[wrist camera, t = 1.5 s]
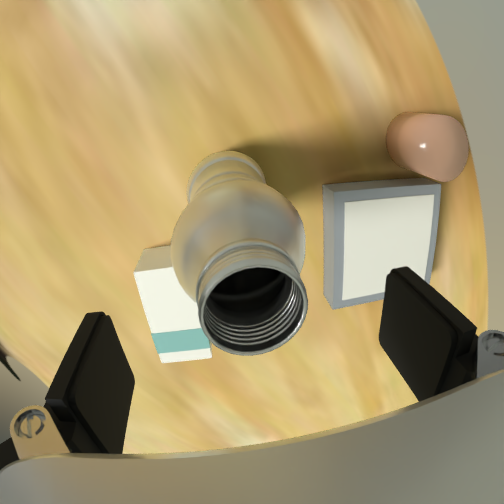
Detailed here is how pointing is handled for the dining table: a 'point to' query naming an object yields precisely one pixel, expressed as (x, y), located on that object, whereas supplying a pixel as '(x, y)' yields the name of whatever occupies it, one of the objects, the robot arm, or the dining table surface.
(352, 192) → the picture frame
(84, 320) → the robot arm
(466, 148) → the pink smooth rounded part
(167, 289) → the lying carton
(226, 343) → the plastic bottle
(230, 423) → the dining table surface
